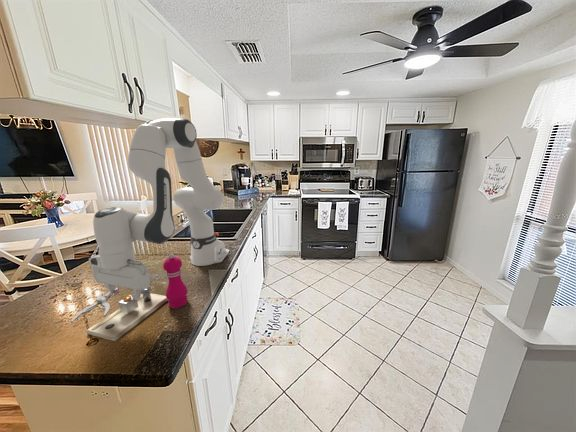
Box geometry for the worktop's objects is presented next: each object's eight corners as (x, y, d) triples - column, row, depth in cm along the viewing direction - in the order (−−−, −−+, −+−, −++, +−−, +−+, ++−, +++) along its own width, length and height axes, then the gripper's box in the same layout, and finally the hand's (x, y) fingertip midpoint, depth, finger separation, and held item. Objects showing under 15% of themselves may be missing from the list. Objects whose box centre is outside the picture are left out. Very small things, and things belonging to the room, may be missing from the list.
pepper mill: (166, 301, 86) (158, 253, 81) (186, 295, 90) (179, 248, 85) (169, 311, 80) (161, 260, 75) (190, 304, 84) (184, 254, 79)
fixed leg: (147, 297, 86) (145, 286, 85) (154, 298, 85) (152, 287, 84) (140, 302, 83) (138, 290, 82) (147, 303, 82) (145, 292, 81)
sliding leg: (132, 307, 80) (129, 293, 78) (138, 308, 79) (136, 295, 78) (121, 314, 76) (118, 300, 75) (128, 316, 75) (125, 302, 74)
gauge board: (145, 295, 90) (145, 291, 89) (168, 299, 87) (167, 295, 86) (87, 334, 70) (86, 329, 70) (114, 341, 67) (113, 336, 67)
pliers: (69, 319, 75) (90, 294, 88) (70, 323, 75) (91, 298, 89) (105, 312, 78) (120, 289, 92) (106, 316, 78) (121, 293, 92)
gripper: (152, 257, 72) (158, 296, 76) (104, 251, 78) (112, 287, 81) (134, 266, 66) (141, 307, 70) (84, 258, 72) (93, 297, 75)
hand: (125, 296), depth 75 cm, fingers open, 8 cm apart
